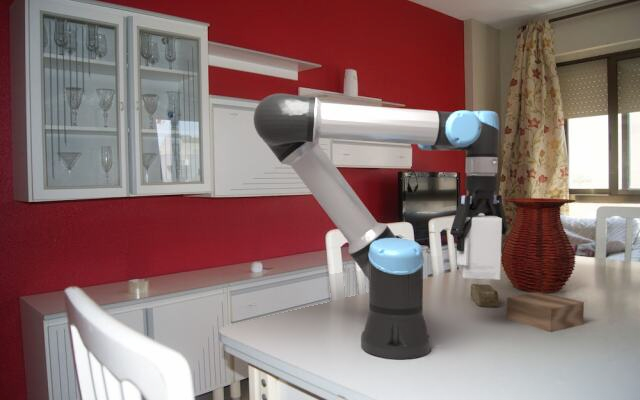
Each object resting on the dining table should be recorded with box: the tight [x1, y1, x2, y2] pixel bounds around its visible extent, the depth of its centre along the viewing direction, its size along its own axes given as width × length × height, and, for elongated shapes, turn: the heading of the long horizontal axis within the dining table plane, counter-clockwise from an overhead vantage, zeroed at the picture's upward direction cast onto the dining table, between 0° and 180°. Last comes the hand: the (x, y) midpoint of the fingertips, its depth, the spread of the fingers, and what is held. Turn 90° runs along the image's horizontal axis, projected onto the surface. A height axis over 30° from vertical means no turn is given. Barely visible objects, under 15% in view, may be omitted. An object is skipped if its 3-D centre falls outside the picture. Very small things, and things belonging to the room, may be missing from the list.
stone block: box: [469, 283, 499, 308], centre depth 148 cm, size 6×12×5 cm, turn 176°
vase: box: [501, 197, 577, 294], centre depth 166 cm, size 23×24×30 cm
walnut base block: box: [506, 292, 585, 333], centre depth 129 cm, size 13×13×6 cm
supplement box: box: [458, 214, 503, 281], centre depth 123 cm, size 9×9×15 cm
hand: (479, 262), depth 123 cm, fingers closed on supplement box, 12 cm apart
